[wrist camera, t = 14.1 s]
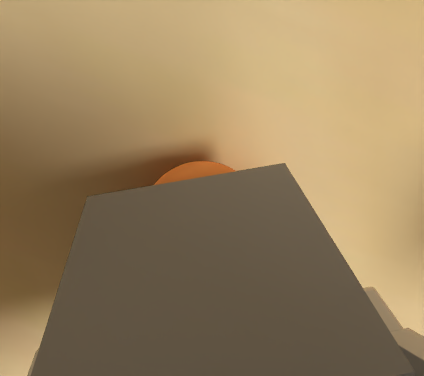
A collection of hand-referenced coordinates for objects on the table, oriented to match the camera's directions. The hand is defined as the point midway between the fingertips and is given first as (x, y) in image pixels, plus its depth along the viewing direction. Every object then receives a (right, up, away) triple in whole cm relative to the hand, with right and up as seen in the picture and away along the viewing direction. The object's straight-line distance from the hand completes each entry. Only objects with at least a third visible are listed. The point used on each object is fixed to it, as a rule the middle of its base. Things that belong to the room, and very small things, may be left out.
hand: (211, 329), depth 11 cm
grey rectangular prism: (0, +2, +3) cm, 4 cm away
